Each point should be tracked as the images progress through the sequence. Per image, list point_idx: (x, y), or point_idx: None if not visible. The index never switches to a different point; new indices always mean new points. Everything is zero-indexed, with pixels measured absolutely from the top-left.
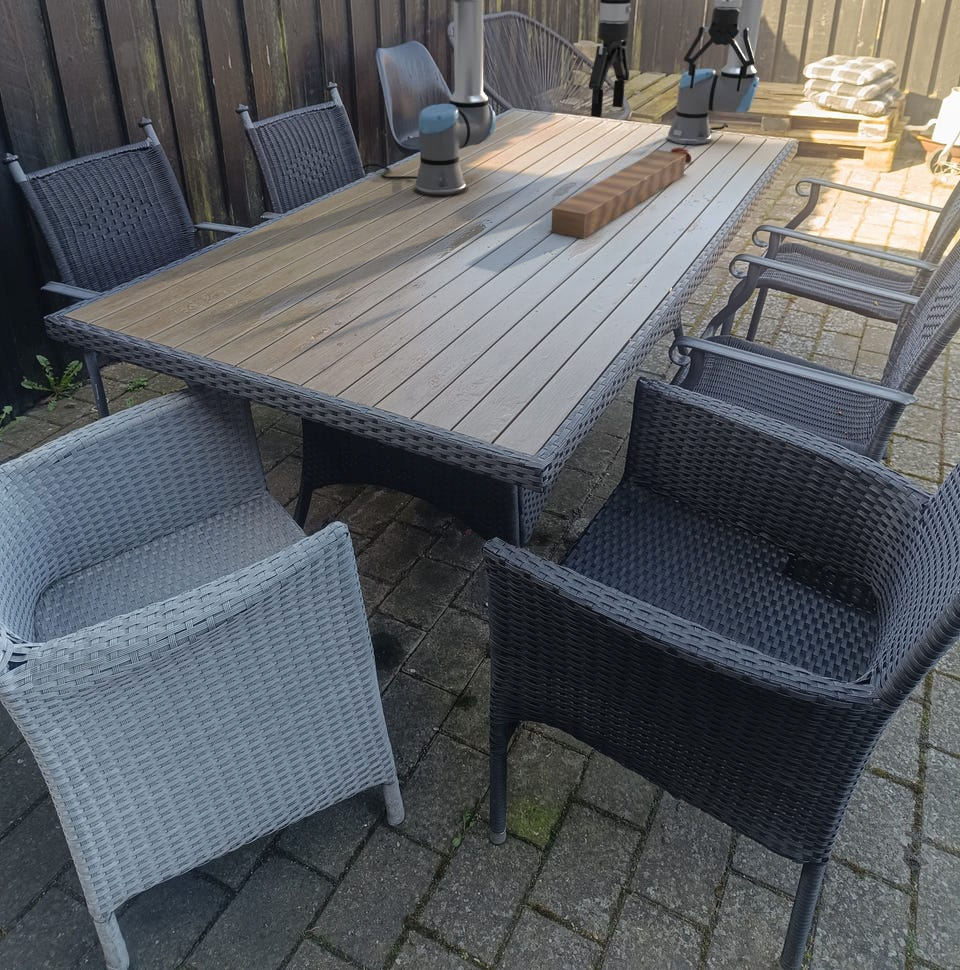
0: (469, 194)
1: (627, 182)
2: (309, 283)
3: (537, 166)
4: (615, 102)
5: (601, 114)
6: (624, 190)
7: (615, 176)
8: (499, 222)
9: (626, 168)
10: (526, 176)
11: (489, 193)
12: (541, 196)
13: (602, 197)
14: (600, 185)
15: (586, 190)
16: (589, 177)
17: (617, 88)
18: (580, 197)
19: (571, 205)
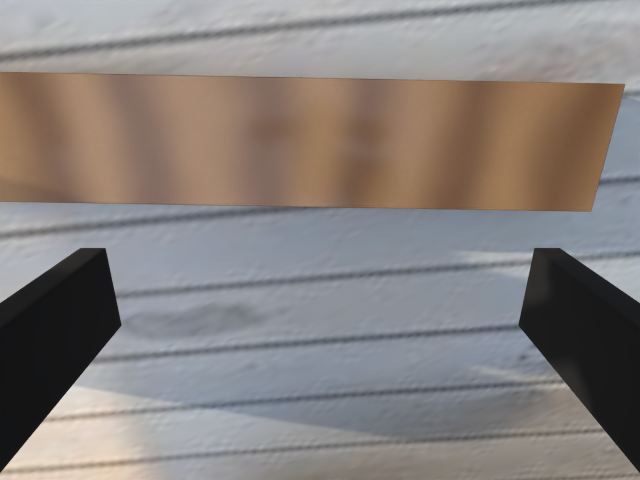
0: (361, 469)
1: (190, 114)
2: None
3: (64, 453)
4: (99, 323)
5: (546, 255)
6: (291, 79)
7: (151, 185)
8: None
9: (34, 194)
10: (156, 438)
11: (331, 442)
12: (281, 342)
13: (413, 115)
14: (283, 184)
15: (362, 200)
16: None
17: (7, 408)
18: (447, 183)
19: (545, 169)
